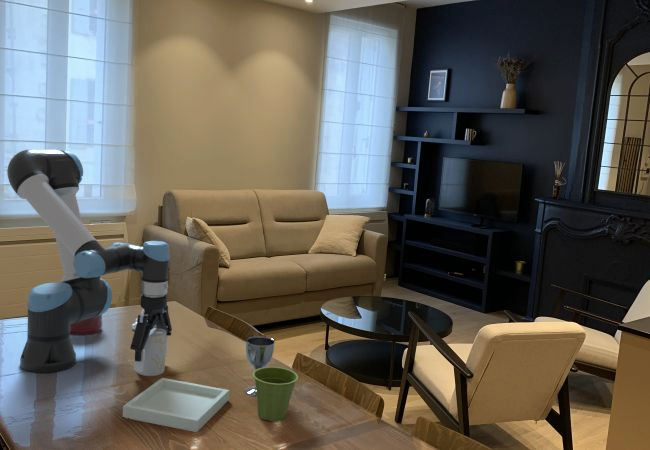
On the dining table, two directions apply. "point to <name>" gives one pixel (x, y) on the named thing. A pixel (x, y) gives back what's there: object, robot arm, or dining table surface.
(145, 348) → the white round cylinder
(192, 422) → the tray
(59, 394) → the dining table surface
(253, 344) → the wine glass
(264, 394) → the plant pot
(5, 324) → the dining table surface
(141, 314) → the sitting furry creature
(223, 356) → the dining table surface
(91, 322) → the canister
